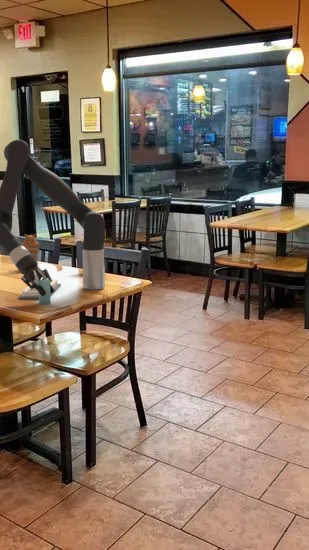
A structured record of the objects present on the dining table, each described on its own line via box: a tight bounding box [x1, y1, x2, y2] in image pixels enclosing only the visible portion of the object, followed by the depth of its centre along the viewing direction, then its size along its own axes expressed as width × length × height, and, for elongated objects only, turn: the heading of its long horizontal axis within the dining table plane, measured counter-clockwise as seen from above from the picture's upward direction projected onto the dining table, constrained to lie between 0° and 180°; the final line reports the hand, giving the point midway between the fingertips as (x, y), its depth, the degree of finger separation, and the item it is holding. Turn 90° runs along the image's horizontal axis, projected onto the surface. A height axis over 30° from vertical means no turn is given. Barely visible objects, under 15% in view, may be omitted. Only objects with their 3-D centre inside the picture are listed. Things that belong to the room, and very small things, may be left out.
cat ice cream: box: [21, 233, 40, 262], centre depth 274 cm, size 9×8×18 cm
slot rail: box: [18, 278, 62, 300], centre depth 226 cm, size 12×25×3 cm, turn 178°
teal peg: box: [38, 278, 52, 305], centre depth 208 cm, size 4×4×9 cm
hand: (48, 293), depth 207 cm, fingers closed on teal peg, 4 cm apart
